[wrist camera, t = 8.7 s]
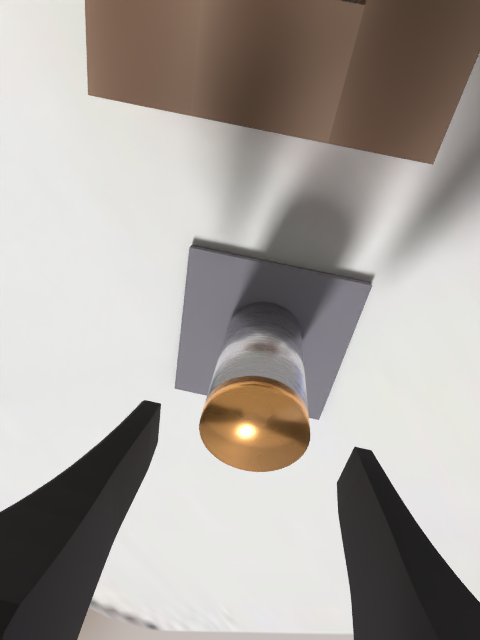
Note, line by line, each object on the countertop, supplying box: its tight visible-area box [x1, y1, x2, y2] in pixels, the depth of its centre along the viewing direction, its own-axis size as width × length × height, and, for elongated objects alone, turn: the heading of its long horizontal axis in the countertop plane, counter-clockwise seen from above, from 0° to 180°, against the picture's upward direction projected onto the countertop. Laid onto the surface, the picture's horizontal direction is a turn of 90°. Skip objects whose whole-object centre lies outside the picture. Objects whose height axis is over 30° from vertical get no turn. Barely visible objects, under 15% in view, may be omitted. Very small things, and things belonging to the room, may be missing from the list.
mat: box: [175, 245, 372, 420], centre depth 19 cm, size 9×9×1 cm
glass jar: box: [199, 302, 310, 472], centre depth 15 cm, size 4×4×7 cm
